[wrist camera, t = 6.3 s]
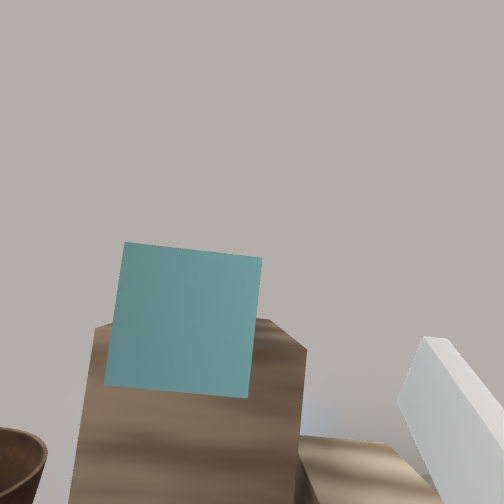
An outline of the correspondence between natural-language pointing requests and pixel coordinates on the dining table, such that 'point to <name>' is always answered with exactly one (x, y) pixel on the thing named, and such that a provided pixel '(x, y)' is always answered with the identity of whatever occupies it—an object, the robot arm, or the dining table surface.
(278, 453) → the walnut stand
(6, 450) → the plant pot
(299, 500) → the zigzag grain block
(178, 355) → the teal long square bar
